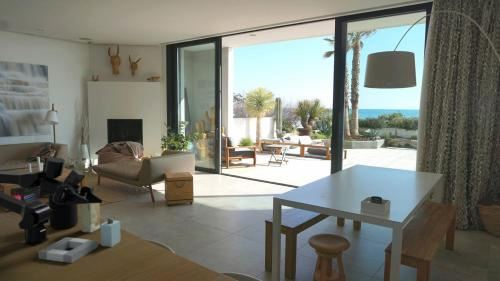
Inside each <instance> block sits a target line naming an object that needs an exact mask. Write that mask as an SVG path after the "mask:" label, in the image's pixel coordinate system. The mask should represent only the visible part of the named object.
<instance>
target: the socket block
mask: <svg viewBox="0 0 500 281" xmlns="http://www.w3.org/2000/svg"><path fill="white" fill-rule="evenodd" d="M70 248H71V250H67V249H70ZM97 248H98V240H94V239H86V238H76V237H68V236H67V237H64V238H62V239H61V240H58V241H57V242H53V244H50V245H48V246H46V247H44V248H42V249H41V250H39V251H38V253H37V254H38V259H41V260H47V261H48V260H49V261H54V262H62V263H68V264H73V263H74V262H76V261H78V260H79V259H81V258H83V257H84V256H85V255H87V254H89V253H90V252H92V251H93V250H96V249H97Z"/></svg>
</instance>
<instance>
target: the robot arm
mask: <svg viewBox="0 0 500 281" xmlns="http://www.w3.org/2000/svg"><path fill="white" fill-rule="evenodd" d="M43 162H44V163H43V168H42V170H36V171H29V172H14V171H1V170H0V184H8V185H9V184H11V185H16V186H17V185H18V186H19V187H21V188H22V189H27V190H32V189H36V188H39V189H38V190H37V192H38V195H39V197H44V196H47V195H48V193H49V194H51V195H53V202H54V203H56V204H77V205H81V204H88V203H99V204H102V202H103V200H102V198H100V197H99V196H98V195H97V194H95V193H94V191H95V188H94V187H92V186H89V185H84V186H82V187H81V185H80V183H81V182H82V181H83V180H84V179H85V178H86V173H85V172H83V171H81V170H80V169H72V170H71V171H70V172H69V173H68V175H67V176H66V177H65V178H64V180H60V179H59V177H61V176H62V175H63V172H64V166H65V162H66V160H65V159H64V158H61V157H51V156H46V157H44V160H43ZM80 187H81V189H80V190H79V188H80ZM61 200H63V201H61ZM0 208H2V209H5V210H7V211H10V212H12V213H15V214H17V215H19V216H20V217H21V220H20V222H19V223H18V226H19V229H20V230H24V240H23V241H21V244H22V245H29V246H38V245H39V244H42V243H44V242H46V241H47V240H49V237H47V229H46V224H47V223H49V222H50V220H49V218H50V217H51V210H50V207H49V205H47V203H45V202H41V201H40V200H34V201H31V202H26V201H24V200H21V199H20V198H17V197H14V196H12V195H9V194H7V193H4V192H2V191H0Z"/></svg>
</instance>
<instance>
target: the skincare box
mask: <svg viewBox="0 0 500 281" xmlns="http://www.w3.org/2000/svg"><path fill="white" fill-rule="evenodd" d="M100 204H101V203H88V204H80V205H81V206H80V207H81V232H82V233H93V232H95V231H97V230H98V229H101V227H100V225H101V214H100V212H101V211H100V210H101V209H100Z"/></svg>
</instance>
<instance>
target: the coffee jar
mask: <svg viewBox="0 0 500 281" xmlns="http://www.w3.org/2000/svg"><path fill="white" fill-rule="evenodd" d="M47 195H48V196H47V197H48V206H49V207H50V210H51V217H50V218H49V227H50V228H51V229H52V230H57V231H59V230H60V231H62V230H67V229H71V228H74V227H75V226H77V224H78V222H79V216H78V215H79V214H78V213H79V212H78V211H79V210H78V208H79V206H78V204H56V203H54V202H53V195H51V194H49V193H48V194H47ZM61 201H63V200H61Z"/></svg>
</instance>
